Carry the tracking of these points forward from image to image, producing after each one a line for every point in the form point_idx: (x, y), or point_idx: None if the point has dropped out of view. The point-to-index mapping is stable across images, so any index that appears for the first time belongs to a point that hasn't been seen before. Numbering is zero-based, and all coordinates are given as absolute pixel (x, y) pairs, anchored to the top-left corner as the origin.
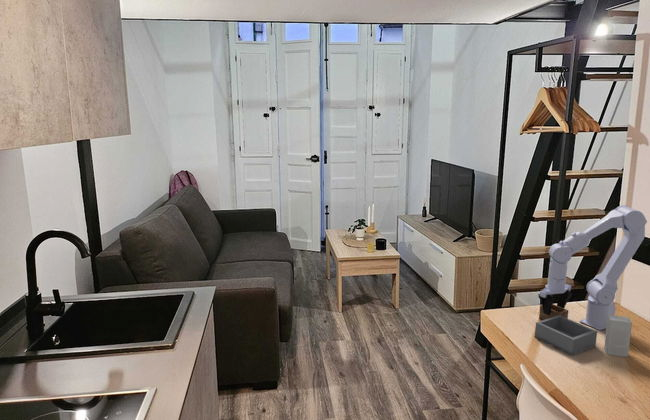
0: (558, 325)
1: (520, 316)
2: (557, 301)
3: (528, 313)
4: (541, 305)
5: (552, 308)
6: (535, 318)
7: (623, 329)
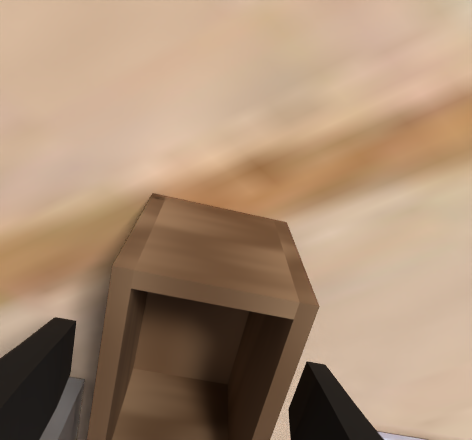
0: None
1: (41, 16)
2: (339, 431)
3: (198, 44)
4: (119, 282)
5: (271, 329)
6: (135, 164)
7: None
